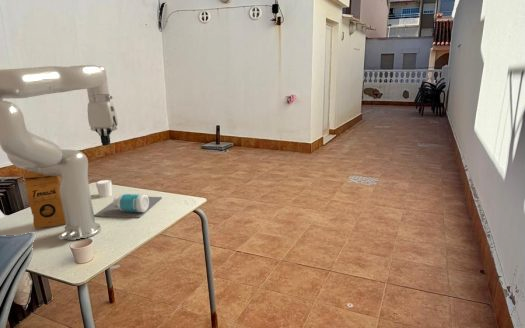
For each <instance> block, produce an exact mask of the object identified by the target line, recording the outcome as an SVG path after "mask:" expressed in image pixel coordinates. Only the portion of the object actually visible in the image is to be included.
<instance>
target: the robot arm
mask: <svg viewBox="0 0 525 328" xmlns="http://www.w3.org/2000/svg"><path fill="white" fill-rule="evenodd" d="M79 90H86V91H87V97H88V99H87V100H88V103H87V119H88V120H87V121H88V124H89V125H88V126H89V127H90V130H91V131H93V132H96V133H97V134H98V136H99V137H100V143H101V145H102V146H105V147H106V146H109V145H111V136H110V135H111V134H112V132H114V131H117V130H118V127H117V126H118V124H119V122H118V117H117V112H116V108H115V105H114V103H113V101H111V100H112V99H113V96H112V95H110V93H109V91H110V90H109V84H108V78H107V71H106V68H105V67H104V66H101V65H96V64H90V65H89V64H86V65H83V64H82V65H71V66H55V65H54V66H37V67H36V66H35V67H25V68H24V67H23V68H22V67H21V68H7V69H6V68H5V69H0V148H1V150H2V151H3V152H4V153H5V154H6V156H7V159H8V161H9V162H10V163H11V164H12V165H13V166H15V167H17V168H20V169H22V170H25V171H28V172H31V173H32V172H35V173H38V174H42V175H48V176H58V177H61V181H60V182H59V183H60V186H59V193H60V198H61V203H62V208H63V213H64V218H65V223H66V224H65V226H64V230H63V232H61V233H60V234H58V239H59V240H64V239H65V240H68V241H77V240H76V239H80V238H85V239H88V238H90V237H93V236H95V235H97V234H98V233H99V232H100V231H101V230H102V229H101V228H102V227H101V225H100V223H97V222H96V219H95V218H96V217H94V215H95V213H94V208H93V202H92V195H91V190H90V183H89V176H88V174H89V159H88V157H87V156H86V154H85V153H83V152H82V151H80V150H78V149H77V150H76V149H65V148H61V147H59V145H58V144H56V143H55V142H53V141H51V140H48V139H46V138H44V137H41V136H38V135H37V134H34V133H32V132H31V131H29V130H28V129H27V127H26V123H25V118H24V114H23V112H22V110H21V109H20V108H19V106H18V105H16V104H15V103H13V102H10V101H8V100H6V99H27V98H31V97H32V98H33V97H39V96H44V95H50V94H51V95H53V94H58V93H59V94H60V93H67V92H72V91H79ZM3 99H5V100H3ZM87 237H88V238H87ZM80 240H81V239H80Z"/></svg>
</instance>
